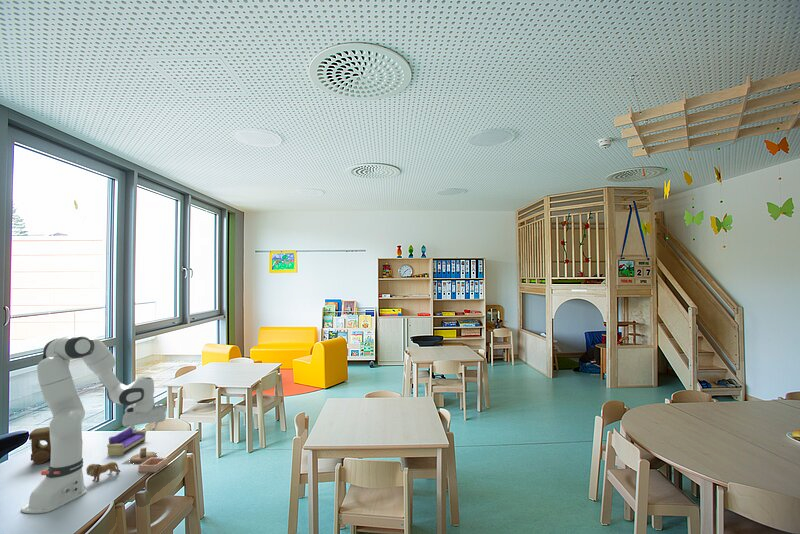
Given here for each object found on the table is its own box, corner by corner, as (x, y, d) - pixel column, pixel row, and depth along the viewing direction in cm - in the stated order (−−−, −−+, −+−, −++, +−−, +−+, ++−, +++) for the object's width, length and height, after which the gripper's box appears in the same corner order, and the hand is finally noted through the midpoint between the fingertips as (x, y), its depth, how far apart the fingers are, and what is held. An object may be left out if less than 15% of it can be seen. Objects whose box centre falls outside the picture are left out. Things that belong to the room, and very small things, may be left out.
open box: (155, 473, 195) (155, 466, 195) (138, 472, 195) (138, 465, 195) (167, 464, 204) (167, 457, 204) (150, 464, 204) (151, 457, 204)
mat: (146, 465, 203) (146, 464, 203) (120, 464, 203) (121, 464, 203) (163, 453, 217) (163, 453, 217) (140, 453, 217) (140, 452, 217)
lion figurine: (88, 486, 182) (89, 467, 182) (83, 483, 184) (84, 464, 185) (123, 473, 195) (123, 455, 195) (117, 470, 197) (118, 453, 198)
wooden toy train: (26, 467, 201) (28, 435, 201) (34, 458, 211) (35, 427, 211) (75, 458, 210) (76, 428, 211) (80, 450, 220) (81, 421, 221)
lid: (145, 463, 204) (146, 453, 204) (124, 463, 204) (124, 453, 205) (160, 453, 216) (161, 444, 216) (140, 453, 216) (140, 443, 217)
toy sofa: (121, 456, 213) (122, 438, 214) (106, 456, 213) (106, 438, 214) (146, 441, 234) (147, 424, 235) (132, 441, 234) (132, 424, 235)
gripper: (167, 402, 218) (167, 426, 217) (125, 406, 211) (125, 431, 211) (164, 405, 212) (164, 430, 211) (121, 410, 205) (121, 436, 205)
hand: (144, 431), depth 211 cm, fingers open, 8 cm apart
